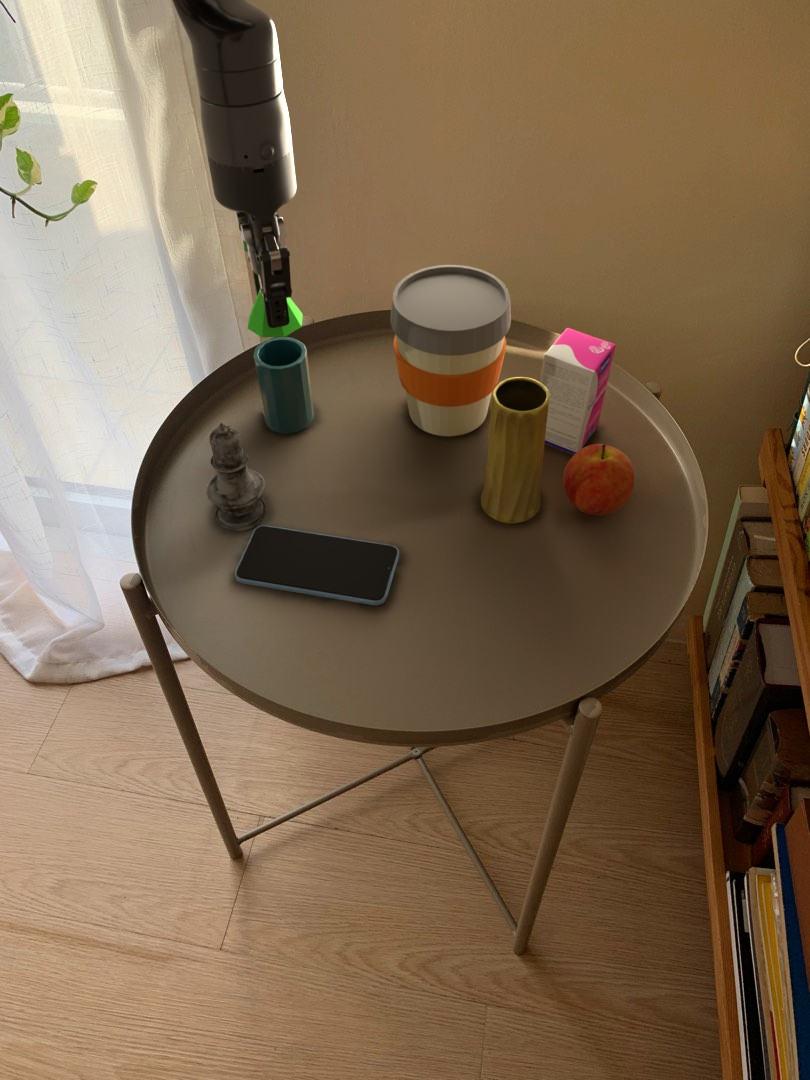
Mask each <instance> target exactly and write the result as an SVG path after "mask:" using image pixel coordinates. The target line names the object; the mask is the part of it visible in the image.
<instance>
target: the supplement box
mask: <svg viewBox="0 0 810 1080" xmlns="http://www.w3.org/2000/svg"><path fill="white" fill-rule="evenodd" d="M616 347H617V345H616V344H615V343H614V342H611V341H610V342H609V341H608V340H603V339H601V338H599V337H595V336H592V335H589V334H587V333H583V332H581V331H578V330H576V329H572V328H571V327H567V328H565V330H564V331H563V332H562V333H561V334H560V335H559V336H558V337H557V339H556V340H555V341H554V343H552V345H551V346H550V347H549V349H548V350H546V352H545V353H544V355H543V360H542V366H541V373H540V379H539V382H540V383H542V384H543V385H544V386H545V387H546V388H547V389H548V391H549V393H550V399H549V406H548V416H547V423H546V433H545V442H544V445H547V446H549V447H551V448H552V447H553V448H555V449H557V450H560V451H562V452H565V453H568V454H570V455H572V456H574V454H575V453H576V452H578V451H579V450H580V449H582V448H584V447H585V446H584V445H585V444H586V443H587V442H588V440H589V439H590V437H591V436H592V435H593V433H594V432H596V430H597V429H598V426H599V424H600V419H601V414H602V410H603V405H604V400H605V396H606V391H607V387H608V382H609V377H610V374H611V368H612V364H613V361H614V356H615V351H616Z"/></svg>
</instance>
